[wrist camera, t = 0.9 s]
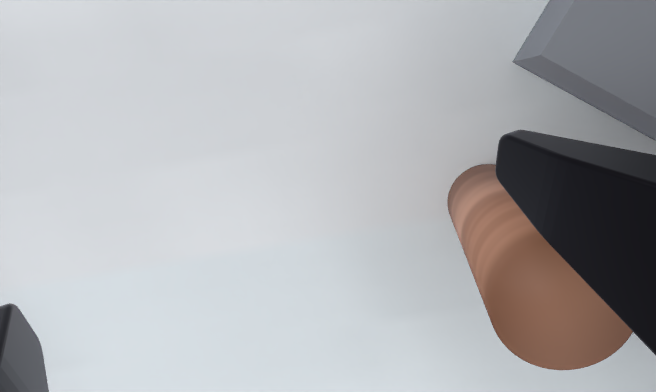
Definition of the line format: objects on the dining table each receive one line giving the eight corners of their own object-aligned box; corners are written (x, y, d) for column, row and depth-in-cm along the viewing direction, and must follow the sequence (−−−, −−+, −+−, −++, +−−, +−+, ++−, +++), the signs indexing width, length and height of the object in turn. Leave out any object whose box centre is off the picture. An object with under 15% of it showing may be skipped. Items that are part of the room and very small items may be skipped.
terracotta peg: (541, 187, 20) (673, 280, 10) (499, 251, 21) (584, 394, 11) (473, 150, 20) (541, 207, 10) (433, 215, 21) (461, 325, 11)
